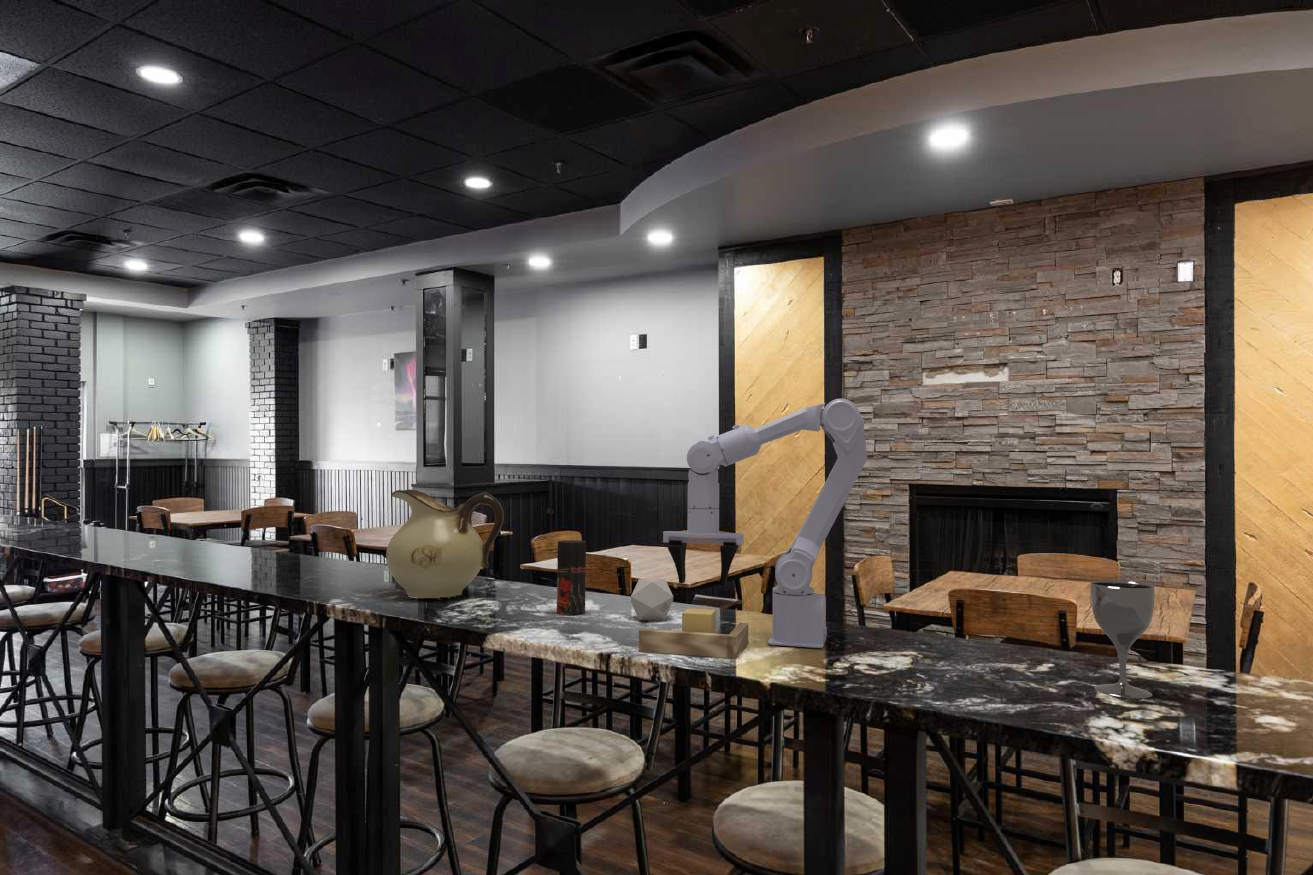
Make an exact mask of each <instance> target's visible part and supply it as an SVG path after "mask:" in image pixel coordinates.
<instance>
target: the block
mask: <svg viewBox="0 0 1313 875" xmlns="http://www.w3.org/2000/svg"><path fill="white" fill-rule="evenodd" d="M681 631H683V632H699V633H714V634H717V609H712V608H711V609H708V608H693V607H692V608H691V607H690V608H689V607H688V608H686V609H685V610H684V611H683V612H682V613H681Z"/></svg>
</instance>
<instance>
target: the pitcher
mask: <svg viewBox="0 0 1313 875" xmlns="http://www.w3.org/2000/svg"><path fill="white" fill-rule="evenodd" d="M391 497H393V498H396V499H398V500H399V499H400V500H402V501H404V502H405V503H407V505H409V507H410V511H411V513H410V516H409V518H408V519H407V521H405V523H404V524H403V525H402V526H401V527H400V528H399V529H398V530H397V531H396V532H395V534H394V535H393V536H392V537H391V539H390V541H389V543H388V545H387V546H386V547H387V548H386V553H385V558H386V559H385V560H386V564H387V568H388V570H389V572H390V573H391V575H392V577H393V578H394V580H395V581H396V582H397V583H398V585H399V586H400V587H401V588H402V589H404V590H405V593H406V596H407V595H409V596H411V597H419V598H440V597H450V596H456V595H460V596H462V595H463V591H464V589H465V588H466V587H468V585H470V584H471V583H472V581H474V579H475V578H476V577H477V575H478V574H479V572H480V570H481V568H482V567H483V568H485V569H488V568H489V561H488V560H489V555H490V551H491V550H490V549H491V547H492V545H493V543H494V541H495V540H496V538H497V536H498V535H499V533H500V531H501V529H502V526H503V524H504V520H505V514H504V513H505V512H504V509H503V507H502V505H501V503H500V501H499V500H498V499H497V498H496V497H494V496H493V495H492V494H491V493H489V492H487V491H483V492H480V493H478V494H476V495H473V496H472V497H469V499H468V500H466V502H465V503H461V504H459V505H458V506H457V507H452V506H449V505H446V504H444V503H443V502H441V501H439V500H437V499H436V498H434V497H433V496H432V495H431V496H430V495H429V494H427V493H425V492H422V491H419V490H415V489H412V488H411V489H409V488H408V489H403V490H402V489H399V490H398V489H397V490H395V491H393V492H392V493H391ZM479 505H484V506H489V507H491V508H492V509H493V512H494V516H495V517H494V518H495V520H494V524H493V525H492V526H493V527H492V528H491V531H490V533H489V535H488V537H487V538H486V540H485V542H484V543H483V541H482V539H481V538H482V537H480V535H479V533H478V532H477V530H475V528H474V527H473V523H472V521H473V520H472V518H473V517H472V516H473V514H474V511H475V509H476V508H477V507H479Z"/></svg>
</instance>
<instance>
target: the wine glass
mask: <svg viewBox="0 0 1313 875" xmlns="http://www.w3.org/2000/svg"><path fill="white" fill-rule="evenodd" d="M1089 585H1090V586H1089V589H1090V590H1089V593H1090V595H1089V596H1090V605H1091V609H1092V613H1093V618H1094V620H1095V622H1096V623H1097V625H1098V626H1099V627H1100V629H1101V630H1102V631H1103V633H1104V634H1106V635H1107V637H1108V638H1109V640H1110V641H1111V642H1112V644H1113V645H1114V647H1115V649H1116V653H1117V658H1118V664H1119V665H1118V666H1119V680H1118V681H1117V682H1115V683H1107V684H1106V683H1104V684H1103V683H1102V684H1097V685H1095V686H1094V690H1096V691H1097V692H1099V693H1101V694H1104V695H1108V696H1112V697H1119V698H1124V699H1125V698H1126V699H1148V698H1152V697H1153V693H1152V692H1151V691H1148V690H1147V689H1143V688H1141V687H1137V686H1133V685H1130V683H1128V681H1127V662H1128V661H1127V660H1128V655H1129V654H1128V653H1129V652H1130V651H1129V650H1131V649H1130V648H1131V647H1132V645H1133V644H1134V643H1135V642H1136V640H1138V639H1139V638H1140V637H1141V635H1143V634H1144V633H1145V632H1146V631H1147V630H1148V629H1149V628H1150V625H1151V623H1152V619H1153V617H1154V616H1153V615H1154V610H1155V602H1156V597H1155V596H1156V592H1155V591H1156V590H1155V589H1156V588H1155V585H1153V584H1149V583H1144V582H1136V581H1126V580H1113V579H1112V580H1110V579H1109V580H1108V579H1107V580H1102V579H1101V580H1100V579H1099V580H1092V581H1090V584H1089Z"/></svg>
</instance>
